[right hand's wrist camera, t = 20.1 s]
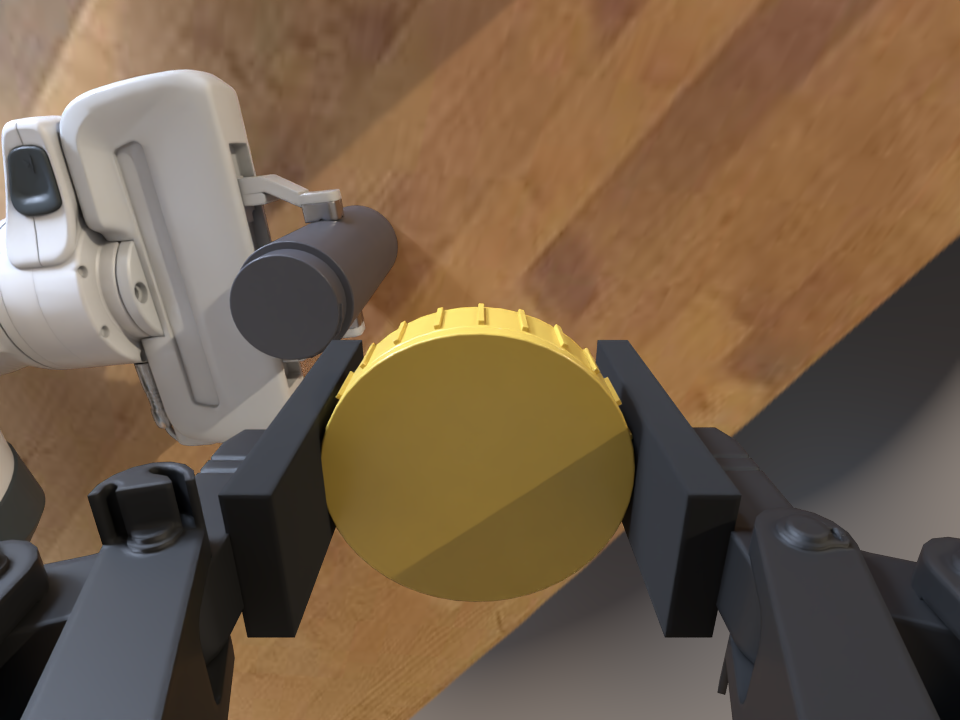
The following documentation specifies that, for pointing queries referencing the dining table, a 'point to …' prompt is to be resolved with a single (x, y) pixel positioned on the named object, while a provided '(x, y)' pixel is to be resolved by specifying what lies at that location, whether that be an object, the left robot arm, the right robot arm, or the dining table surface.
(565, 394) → the lid
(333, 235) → the jar
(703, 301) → the dining table surface
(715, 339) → the dining table surface
